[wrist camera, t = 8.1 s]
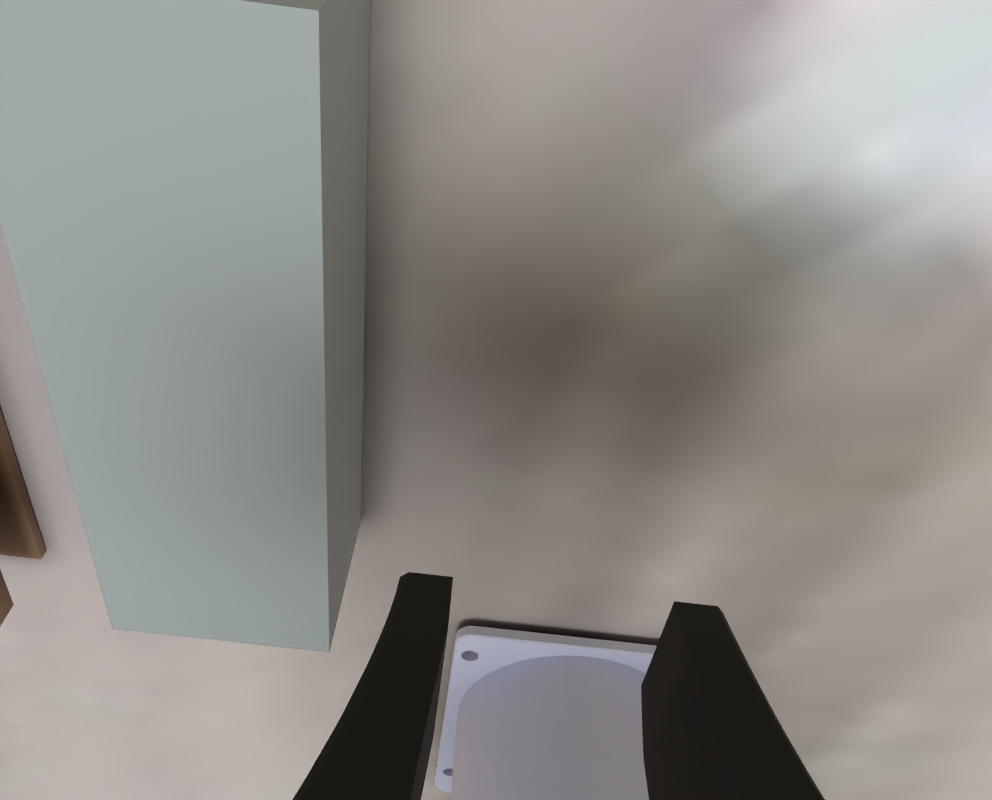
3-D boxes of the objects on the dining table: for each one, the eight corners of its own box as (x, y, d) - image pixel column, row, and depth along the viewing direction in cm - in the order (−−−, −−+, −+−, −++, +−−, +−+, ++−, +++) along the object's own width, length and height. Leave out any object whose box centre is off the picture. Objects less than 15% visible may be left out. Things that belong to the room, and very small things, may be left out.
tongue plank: (362, 512, 23) (329, 651, 20) (123, 485, 23) (46, 622, 19) (374, -57, 14) (318, 10, 11) (-10, -108, 14) (-194, -58, 11)
